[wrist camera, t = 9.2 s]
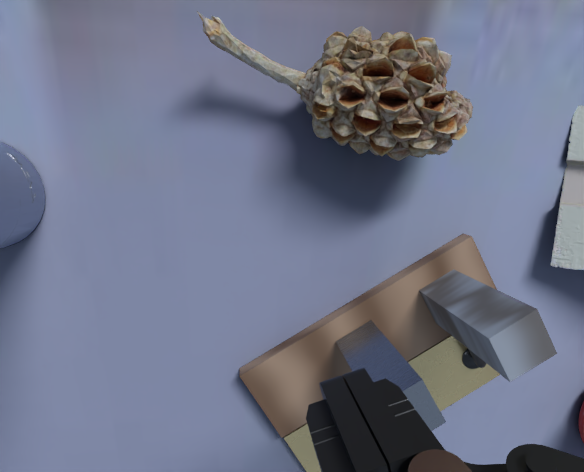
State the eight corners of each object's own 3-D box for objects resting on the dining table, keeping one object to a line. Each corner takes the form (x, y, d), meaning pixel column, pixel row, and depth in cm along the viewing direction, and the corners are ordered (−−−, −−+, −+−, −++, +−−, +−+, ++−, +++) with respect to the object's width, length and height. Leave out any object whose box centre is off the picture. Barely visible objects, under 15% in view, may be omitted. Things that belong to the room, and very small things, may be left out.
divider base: (301, 459, 42) (327, 581, 29) (239, 368, 39) (239, 460, 27) (509, 332, 42) (619, 399, 30) (463, 233, 40) (563, 263, 27)
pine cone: (447, 72, 37) (522, 38, 27) (419, 174, 38) (481, 177, 28) (209, 1, 33) (197, -69, 23) (188, 116, 34) (168, 97, 25)
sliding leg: (384, 421, 40) (436, 513, 30) (335, 341, 38) (373, 409, 27) (417, 401, 40) (481, 485, 30) (371, 319, 38) (422, 379, 27)
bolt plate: (315, 479, 42) (317, 487, 41) (282, 431, 41) (283, 438, 40) (520, 353, 43) (527, 358, 42) (495, 301, 41) (502, 305, 40)
